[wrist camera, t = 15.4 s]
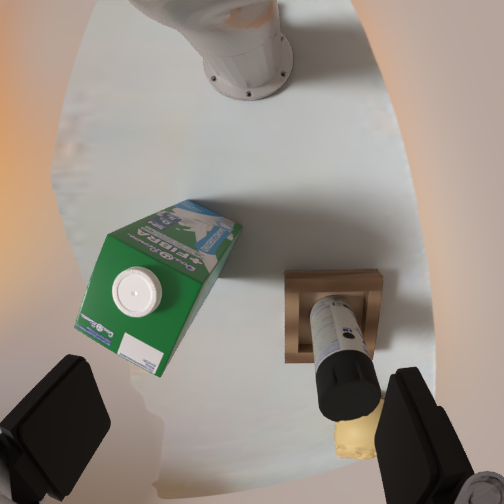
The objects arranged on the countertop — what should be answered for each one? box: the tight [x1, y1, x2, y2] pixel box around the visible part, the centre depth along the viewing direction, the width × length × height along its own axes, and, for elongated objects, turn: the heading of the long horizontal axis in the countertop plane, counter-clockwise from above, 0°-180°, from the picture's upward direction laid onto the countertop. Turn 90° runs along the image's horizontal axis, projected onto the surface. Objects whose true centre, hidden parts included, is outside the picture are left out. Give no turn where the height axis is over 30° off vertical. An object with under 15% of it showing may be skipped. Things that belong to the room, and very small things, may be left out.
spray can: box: [310, 295, 381, 422], centre depth 38 cm, size 7×7×20 cm
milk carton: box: [74, 200, 242, 377], centre depth 36 cm, size 9×9×25 cm
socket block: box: [285, 269, 383, 363], centre depth 47 cm, size 14×14×4 cm
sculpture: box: [334, 399, 384, 460], centre depth 49 cm, size 12×12×11 cm
